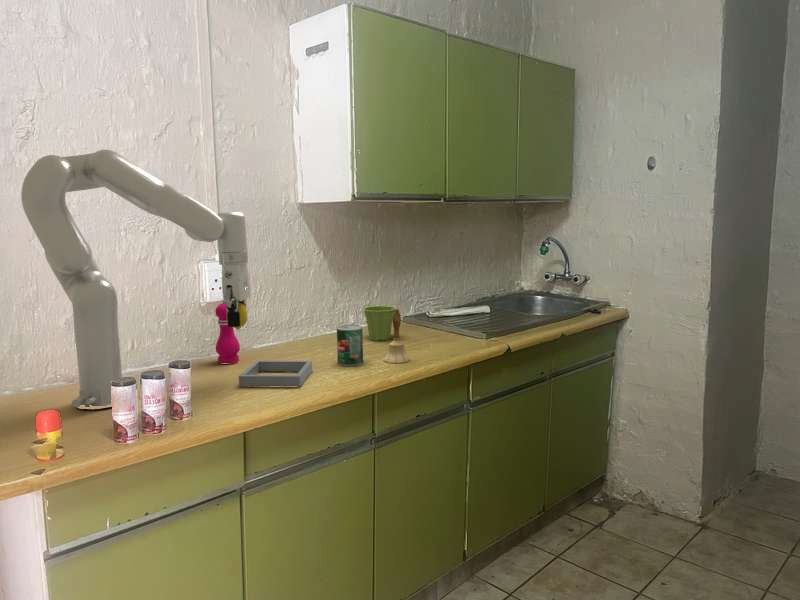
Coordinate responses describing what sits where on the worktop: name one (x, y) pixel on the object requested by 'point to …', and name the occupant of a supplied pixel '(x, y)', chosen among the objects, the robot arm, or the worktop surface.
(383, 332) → the plant pot
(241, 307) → the lemon
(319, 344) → the worktop surface
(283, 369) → the box
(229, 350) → the pepper mill
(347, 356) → the canned tomato
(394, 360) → the hand bell
